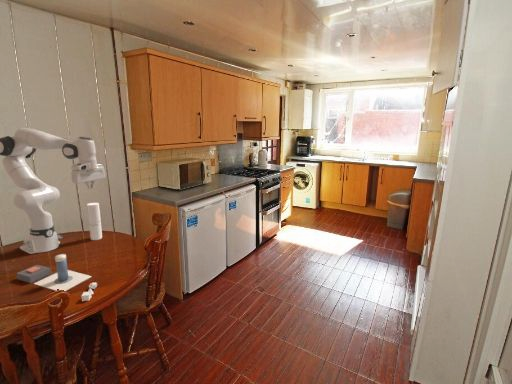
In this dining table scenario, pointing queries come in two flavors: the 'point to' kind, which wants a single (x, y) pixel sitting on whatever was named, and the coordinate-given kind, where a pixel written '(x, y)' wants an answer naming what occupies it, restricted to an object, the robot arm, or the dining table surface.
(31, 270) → the button
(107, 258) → the dining table surface
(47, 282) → the paper sheet
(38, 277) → the button housing
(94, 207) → the cylindrical container
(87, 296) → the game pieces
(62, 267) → the blue and white cylinder
